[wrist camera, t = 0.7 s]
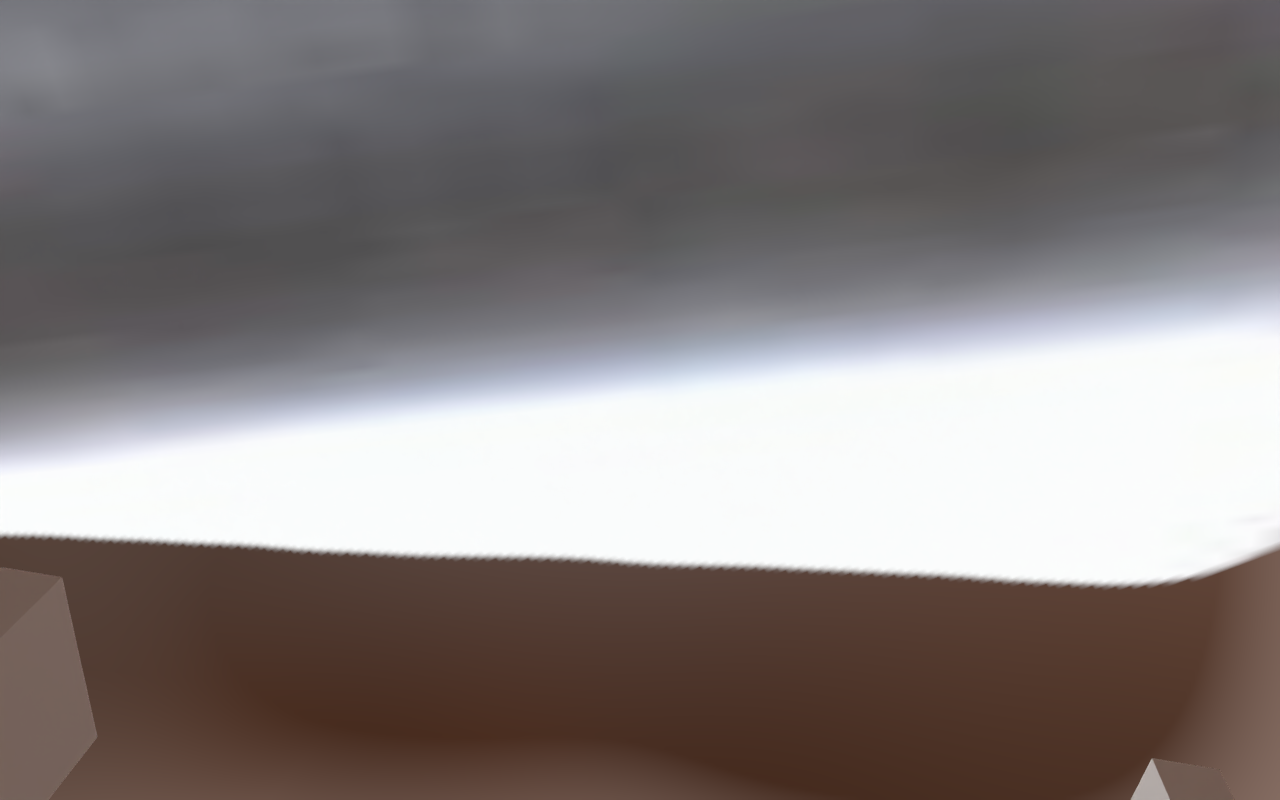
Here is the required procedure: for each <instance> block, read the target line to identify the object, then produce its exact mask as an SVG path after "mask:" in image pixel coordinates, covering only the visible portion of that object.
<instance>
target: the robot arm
mask: <svg viewBox="0 0 1280 800" xmlns="http://www.w3.org/2000/svg"><path fill="white" fill-rule="evenodd" d="M96 738H97V733H96V729H95V725H94V720H93V715H92V711H91V706H90V702H89V697H88V693H87V688H86V684H85V679H84V675H83V670H82V666H81V661H80V657H79V652H78V647H77V643H76V639H75V634H74V629H73V625H72V620H71V616H70V612H69V607H68V602H67V598H66V593H65V589H64V585H63V580H62V577H58V576H51V575H46V574H40V573H34V572H27V571H21V570H15V569H9V568H3V567H2V568H1V569H0V800H48V799H49V798H50V797H51V796H52V794H53V793H54V792H55V790H56V789H57V788H58V787H59V785H60V784H61V783H62V781H63V780H64V779H65V778H66V776H67V775H68V774H69V773H70V771H71V770H72V768H73V767H74V766H75V765H76V764H77V762H78V761H79V760H80V758H81V757H82V756H83V755H84V753H85V752H86V751H87V750H88V748H89V747H90V745H91V744H92V743H93V742H94V740H95V739H96ZM1131 800H1235V799H1234V797H1233V795H1232V793H1231V791H1230V789H1229V787H1228V785H1227V783H1226V781H1225V779H1224V777H1223V775H1222V773H1221V771H1220V770H1219V769H1214V768H1208V767H1202V766H1196V765H1190V764H1184V763H1178V762H1172V761H1165V760H1160V759H1154V758H1152V759H1151V761H1150V763H1149V765H1148V767H1147V769H1146V771H1145V773H1144V775H1143V777H1142V779H1141V781H1140V783H1139V785H1138V787H1137V789H1136V791H1135V793H1134V794H1133V797H1132V798H1131Z"/></svg>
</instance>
